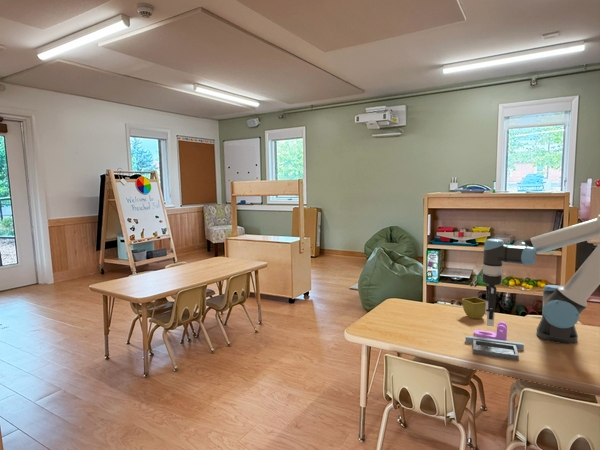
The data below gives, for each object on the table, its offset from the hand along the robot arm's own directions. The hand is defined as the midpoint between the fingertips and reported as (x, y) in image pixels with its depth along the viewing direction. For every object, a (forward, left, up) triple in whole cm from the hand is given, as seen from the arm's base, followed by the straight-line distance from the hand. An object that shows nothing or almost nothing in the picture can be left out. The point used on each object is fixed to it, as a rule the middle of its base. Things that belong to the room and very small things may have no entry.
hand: (489, 320), depth 171 cm
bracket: (0, 0, -8) cm, 8 cm away
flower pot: (+6, -23, -8) cm, 25 cm away
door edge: (-1, +10, -7) cm, 12 cm away
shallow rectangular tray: (-1, +16, -7) cm, 18 cm away
